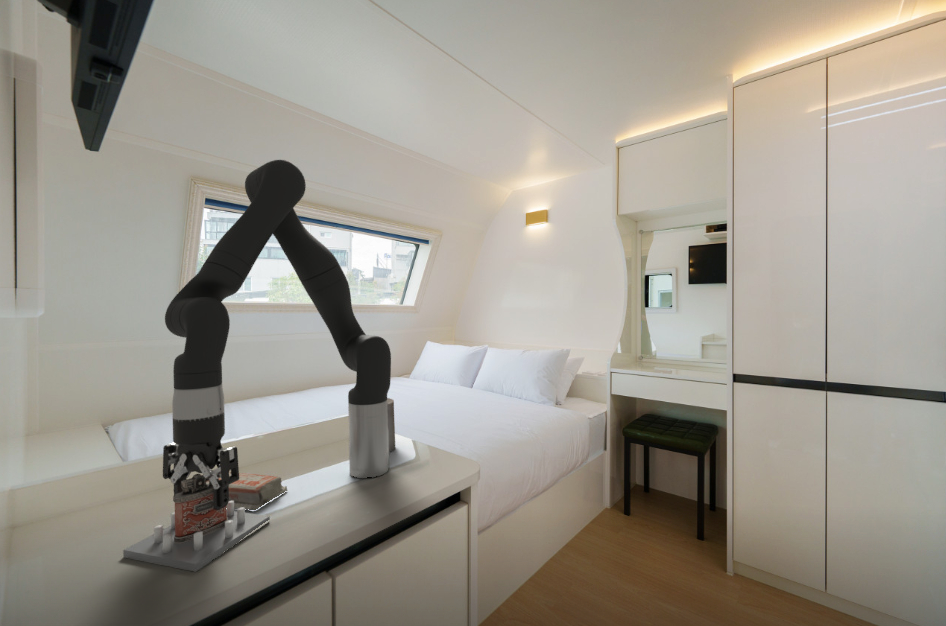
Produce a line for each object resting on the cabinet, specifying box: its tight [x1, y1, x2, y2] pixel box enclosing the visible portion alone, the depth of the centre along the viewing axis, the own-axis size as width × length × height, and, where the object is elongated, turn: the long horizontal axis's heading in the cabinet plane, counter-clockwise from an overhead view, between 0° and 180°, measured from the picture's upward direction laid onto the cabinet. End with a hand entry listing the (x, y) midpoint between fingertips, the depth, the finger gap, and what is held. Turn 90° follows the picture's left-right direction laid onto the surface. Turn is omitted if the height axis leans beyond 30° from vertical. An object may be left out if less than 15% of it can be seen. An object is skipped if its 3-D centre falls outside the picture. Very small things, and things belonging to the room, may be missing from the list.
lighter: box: [172, 473, 228, 543], centre depth 72 cm, size 8×3×10 cm, turn 141°
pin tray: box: [122, 501, 271, 573], centre depth 72 cm, size 15×15×4 cm
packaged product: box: [206, 471, 288, 510], centre depth 88 cm, size 18×5×10 cm
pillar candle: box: [387, 397, 396, 453], centre depth 117 cm, size 10×10×15 cm
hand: (201, 505), depth 72 cm, fingers open, 8 cm apart
